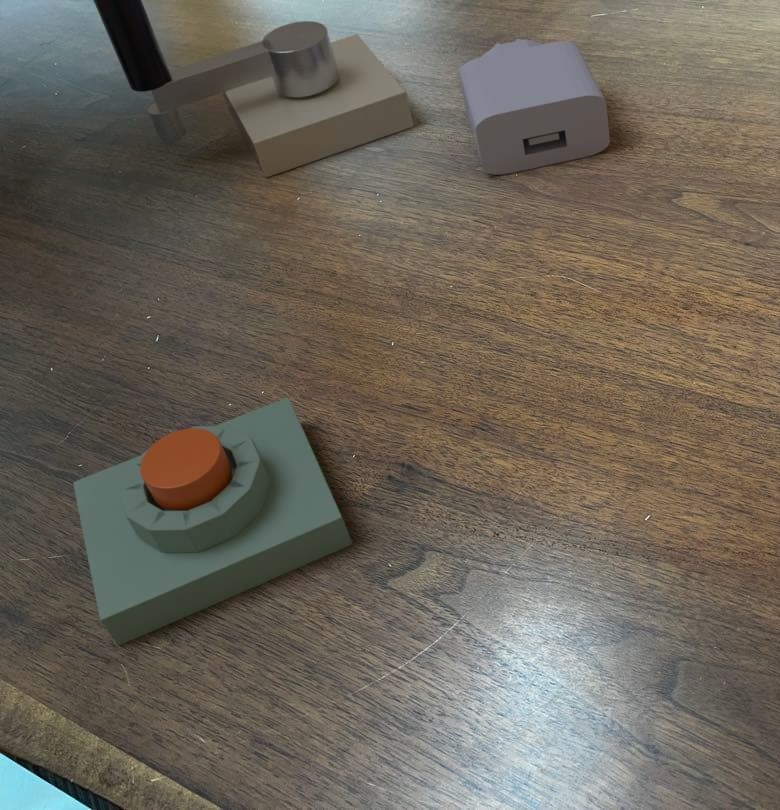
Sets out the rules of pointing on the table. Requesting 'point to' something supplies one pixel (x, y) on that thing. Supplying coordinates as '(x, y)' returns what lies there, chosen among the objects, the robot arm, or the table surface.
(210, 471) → the button
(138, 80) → the crank handle
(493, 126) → the charger
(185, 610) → the button box
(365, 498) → the table surface
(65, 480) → the table surface
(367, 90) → the crank base
